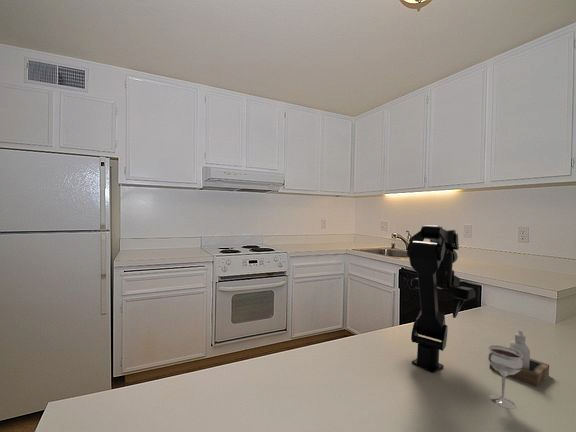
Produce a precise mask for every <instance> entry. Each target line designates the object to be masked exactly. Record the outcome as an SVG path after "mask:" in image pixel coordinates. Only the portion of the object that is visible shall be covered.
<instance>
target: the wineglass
mask: <svg viewBox="0 0 576 432" xmlns="http://www.w3.org/2000/svg"><path fill="white" fill-rule="evenodd" d="M487 348H488V350H489V351H488V353H487V360H488V362H489V365H490V364H491V365H492V366H493V368H494V369H495V371H496V370H497V371H496V372H499V374H500V375H501V396H500V395H498V394H497V395H494V394H493V395H490V396H489V398H490V400H491V402H493V403H494V404H495V405H498V406H500V407H502V408H506V409H514V408H516V406H517V405H516V404H515V403H514V402H513V401H512V400H511V399H508V398H507V397H505V389H506V388H505V387H506V379H507V376H509V375H514V374H516V373H518V372H520V371H521V369H522V366H523V363H522V360H521V358H522V357H523V355H522V354H521V353H519V352H518V351H516V350H513V349H510V347H507V346H502V345H494V344H492V345H489V346H488V347H487ZM494 369H493V370H494Z"/></svg>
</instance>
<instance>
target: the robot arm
mask: <svg viewBox="0 0 576 432" xmlns="http://www.w3.org/2000/svg"><path fill="white" fill-rule="evenodd" d="M425 240H429V241H425ZM459 246H460V245H459V233H458V232H457V231H456V230H455V229H447V228H446V229H445V228H443V226H440V225H437V224H436V225H433V224H424V225H422V226H421V229H420V230H419V231H418V232H416V233H415V234H414V235H412V236H411V238H410V239H409V243H408V245H407V249H406V255H407V257H408V259H409V264H410V267H411V268H413V270H414V271H415V272H416V274H417V277H415V278H412V279H411V281H410V286H411V287H412V288H414V290H415V291H416V292H417V294H418V296H419V301H420V311H419V312H418V316H417V318H416V319H415V321H414V322H413V325H412V329H411V337H410V339H411V342H412V343H416V344H417V354H416V358H415V359H413V360H411V363H412V364H414V365H415V366H417V367H420V368H422V369H424V370H426V371H428V372H430V373H436V372H437V371H438V370H441V369H443V368H444V366H445V365H444V364H442V363H439V362H440V351H441V352H444V350H445V348H446V346H447V340H448V330H449V329H448V328H449V326H448V325H447V324H446V314H445V312H444V311H443V310H439V301H438V300H439V299H438V291H443V292H446V293H451V294H454V297H452V318H453V319H455V318H457V316H458V314H459V312H460V310H461V307H462V306H463V305H464V303H465V302H467V301H470V300H472V299H475V298H476V296H477V295H476V291H475V289H474V288H473V287H469V286H468V287H467V286H462V285H461V286H460V283H461V278H460V277H458V276H457V275H455V271H454V270H453V266H454V265H453V264H454V263H456V261H457V260H458V258H459V256H458V253H457V252H456V251H458V250H460V249H459V248H460V247H459Z"/></svg>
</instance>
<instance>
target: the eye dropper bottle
mask: <svg viewBox="0 0 576 432" xmlns="http://www.w3.org/2000/svg"><path fill="white" fill-rule="evenodd" d="M526 337H527V336H526V335H525V334H524V333H523V330H521V329H519V330H518V332H516V333H515V334H514V340H512V341H510V342H509V348H510V349H513V350H516V351H518V352H519V353H521V354H522V355H523V357H522V358H521V360H522V363H523V366H522V367H523V368H525V369H528V370H529V364H530V359H531V350H530V348H529V346H528V345H527V344H526Z"/></svg>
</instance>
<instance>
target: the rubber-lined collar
mask: <svg viewBox="0 0 576 432" xmlns="http://www.w3.org/2000/svg"><path fill="white" fill-rule="evenodd" d="M489 369H492V370H495V369H494V368H493V366H492V365H491V364H490V363H489ZM495 371H496V372H498V371H497V370H495ZM549 375H550V364H549V363H545V362H541V361H539V360H536V359H533V358H530V364H529V370H528V369H525V368H523V367H522V369H521V371H520V372H518V373H516V374H514V375H508V376H510V377H512V378H514V379H517V380H520V381H522V382H525V383H527V384H530V385H532V386H535V387H538V386H539V385H540V384H541V383H542V382H543V381H544V380H546V379H547V377H549Z"/></svg>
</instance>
